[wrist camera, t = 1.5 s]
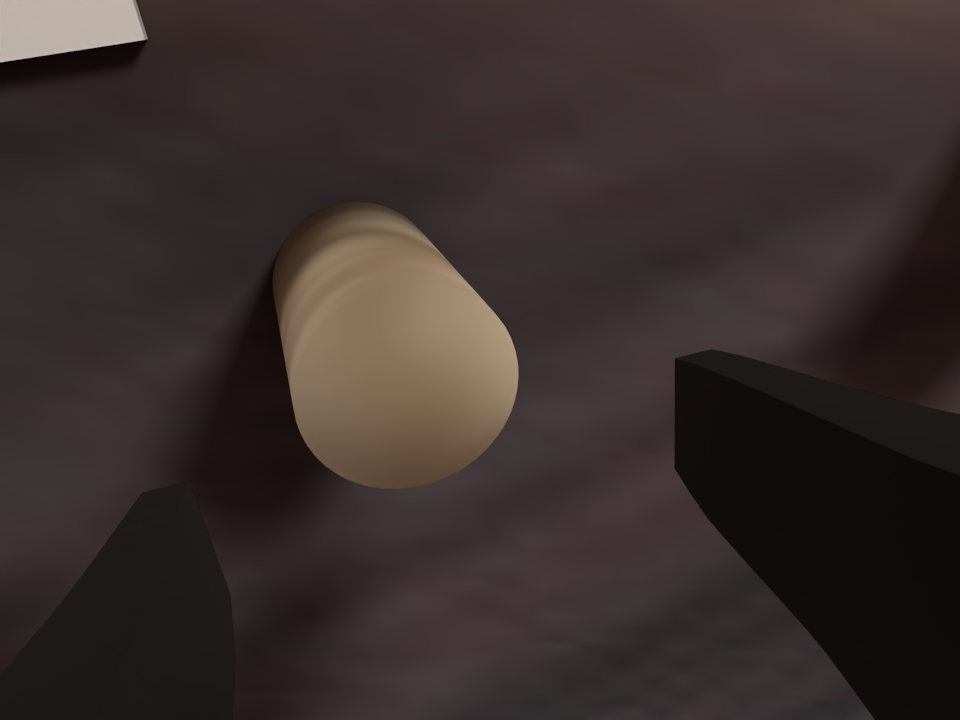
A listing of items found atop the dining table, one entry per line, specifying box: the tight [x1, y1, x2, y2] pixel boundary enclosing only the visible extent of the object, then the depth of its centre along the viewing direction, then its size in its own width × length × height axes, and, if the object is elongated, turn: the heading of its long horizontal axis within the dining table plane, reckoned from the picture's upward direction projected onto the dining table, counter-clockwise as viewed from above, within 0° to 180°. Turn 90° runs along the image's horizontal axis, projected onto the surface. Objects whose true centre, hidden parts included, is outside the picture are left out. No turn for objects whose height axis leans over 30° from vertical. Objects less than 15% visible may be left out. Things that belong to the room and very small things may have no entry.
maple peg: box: [272, 202, 518, 489], centre depth 16 cm, size 4×4×6 cm
